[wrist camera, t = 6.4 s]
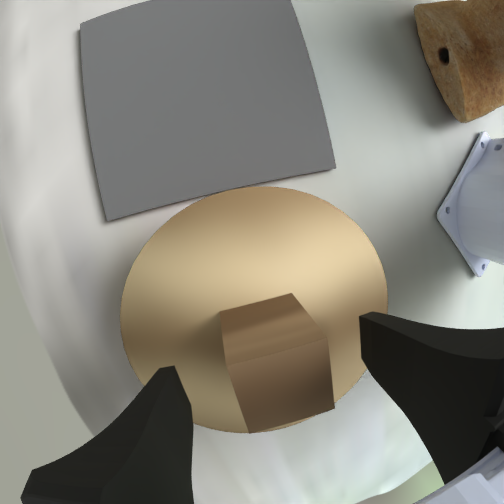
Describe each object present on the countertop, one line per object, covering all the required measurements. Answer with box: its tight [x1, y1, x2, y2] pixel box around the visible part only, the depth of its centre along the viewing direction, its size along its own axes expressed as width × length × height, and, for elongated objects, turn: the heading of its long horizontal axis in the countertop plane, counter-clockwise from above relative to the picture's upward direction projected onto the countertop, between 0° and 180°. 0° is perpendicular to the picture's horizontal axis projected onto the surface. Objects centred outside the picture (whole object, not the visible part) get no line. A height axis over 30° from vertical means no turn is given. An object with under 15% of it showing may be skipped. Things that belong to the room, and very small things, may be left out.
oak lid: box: [120, 187, 388, 434], centre depth 11 cm, size 12×12×5 cm
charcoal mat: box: [80, 0, 336, 221], centre depth 14 cm, size 13×13×1 cm
